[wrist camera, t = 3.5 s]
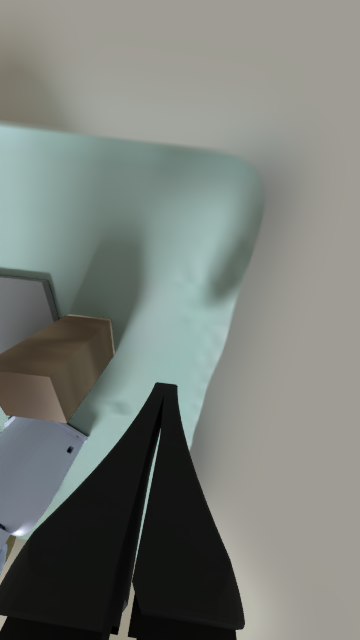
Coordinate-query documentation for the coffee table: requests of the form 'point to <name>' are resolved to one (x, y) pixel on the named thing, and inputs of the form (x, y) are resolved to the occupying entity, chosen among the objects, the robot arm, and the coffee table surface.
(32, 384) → the walnut block
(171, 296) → the coffee table surface
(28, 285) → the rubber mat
